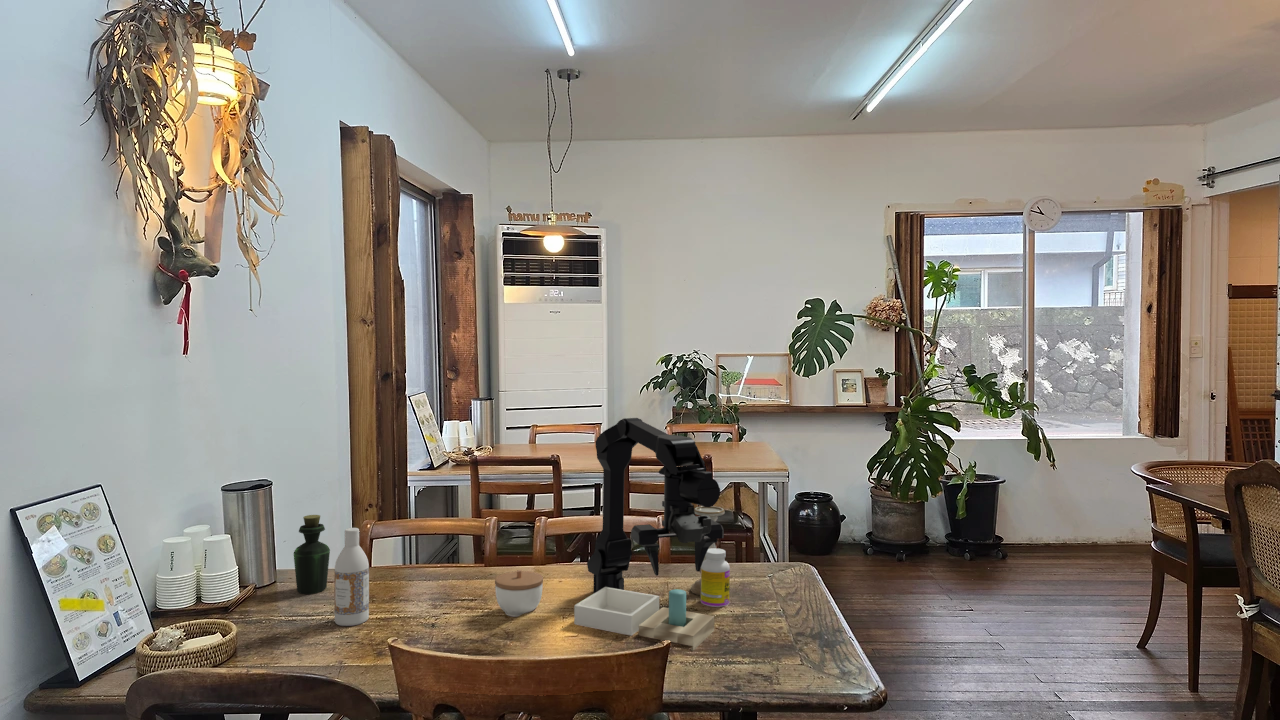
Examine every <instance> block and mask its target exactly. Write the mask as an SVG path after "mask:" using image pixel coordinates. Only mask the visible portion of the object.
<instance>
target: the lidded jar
mask: <svg viewBox="0 0 1280 720" xmlns="http://www.w3.org/2000/svg"><path fill="white" fill-rule="evenodd" d="M543 583H544V576H543V575H542V574H541V573H538V572H535V571H527V570H520V569H518V570H516V571H508V572H505V573H501V574H499V575H498V576H496V577H495V578H494V584H495V587H494V589H495V597H496V602H497V604H498V606H499V608H500V609H501V610H502V611H503V612H504V613H505V615H506V616H508V617H513V618H518V617H520V616H522V615H524V614H527V613H531V612H532V611H534V610H536V608H538V605H539V604H540V602H541V599H542V597H543V596H542V595H543Z"/></svg>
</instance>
